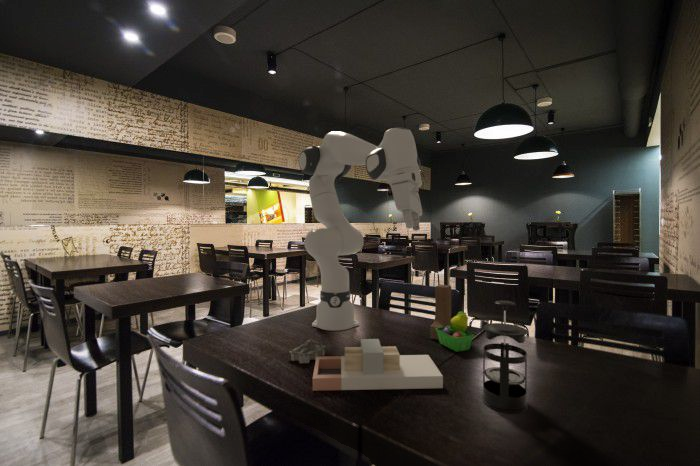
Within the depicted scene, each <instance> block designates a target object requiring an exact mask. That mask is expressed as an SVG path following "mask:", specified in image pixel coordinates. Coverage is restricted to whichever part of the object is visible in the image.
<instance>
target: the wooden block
mask: <svg viewBox="0 0 700 466" xmlns="http://www.w3.org/2000/svg"><path fill="white" fill-rule="evenodd" d="M434 292H435V293H434V294H435V295H434V296H435V300H434V301H435V302H434V303H435V305H434V306H435V310H434V312H435V313H434V320H433V323H432V324H431V325H429V326H430V327H429V339H431V340H436V341H439V338H438V334H437V332H436V328H439V327H446V326H452V323H451V319H452V285H448V284H447V285H446V284H438V285H436V286H435V288H434Z"/></svg>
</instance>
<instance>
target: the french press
mask: <svg viewBox="0 0 700 466" xmlns="http://www.w3.org/2000/svg"><path fill="white" fill-rule="evenodd" d="M494 304H495V305H498V306H502V311H503V323H500V322H499V323H498V322H496V323H495V322H494V323H493V322H492V323H491V322H490V323H486V324H484V325H483V330H484V331H485V338H486V339H488V340H493V339H495V338H497V337H501V336H503V342H500V343H488V344H485V345H484V346H483V347H482V348H483V349H482V350H483V351H482V352H483V359H482V360H483V362H482V366H483V367H482V371H483V372H482V377H483V378H482V383H483V384H482V396H481V400H482V403H483V404H484V405H485V406H487V407H488V408H490V409H491V410H494V411H497V412H499V413H504V414H510V415H512V414H513V415H514V414H515V415H516V414H517V415H518V414H522V413H525V412H526V411H527V410H528V407H529V406H528V403H527V399H528V398H527V392H528V391H527V390H528V389H527V387H528V384H527V380H528V377H527V373H528V372H527V371H528V368H527V367H528V366H527V365H528V364H527V363H528V352H527V351H526V350H525V349H524V348H522V347H519V346H516V345H513V344H510V343H508V342H506V341H507V340H506V337H508V338H511V339H513V340H514V341H515V342H517V343H518V344H523V343H525V342H526V340H525V339H526V335H527V334H528V330H527V329H526V328H524V327H521V326H519V325H516V324H510V323H507V320H506V319H507V315H506V313H507V311H508V307H512V306H515V305H516V303H515V302H513V301H510V300H496V301H495V302H494ZM490 350H500V355H497V354H494V353H491V352H489V351H490ZM510 352H514V353H517V354H520V355H521V356H518V357H510ZM485 359H488V360H491V361H494V362H497V363H499V366H495V367H494V366H491V367H488V368H486V367H485V366H486V365H485V364H486V360H485ZM523 363H524V368H525V370H524V374H523V373H522V372H520V371H519V370H518V371H517V370H515V369H511V368H510V365H516V364H517V365H518V364H523ZM485 368H486V369H485ZM485 377H486V379H488V380H485ZM523 384H524V387H523V386H522V385H523Z"/></svg>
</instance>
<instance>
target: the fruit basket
mask: <svg viewBox="0 0 700 466" xmlns="http://www.w3.org/2000/svg"><path fill="white" fill-rule="evenodd" d="M468 320H469V317H468V315H467V313H466V312H463V311H458V313H457V314H456V315H454V316H453V317H451V326H446V327H439V328H436V332H437V334H438V338H439V340H438V341H439V344H440V345H442V346H444V347H446V348H448V349H450V350H451V351H454V352H456V353H457V352H458V353H459V352H464V351H470V348H471V345H472V342H473V339H474V337H475V335H474V334H473V333H471V332H469V331H467V329H468Z"/></svg>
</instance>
